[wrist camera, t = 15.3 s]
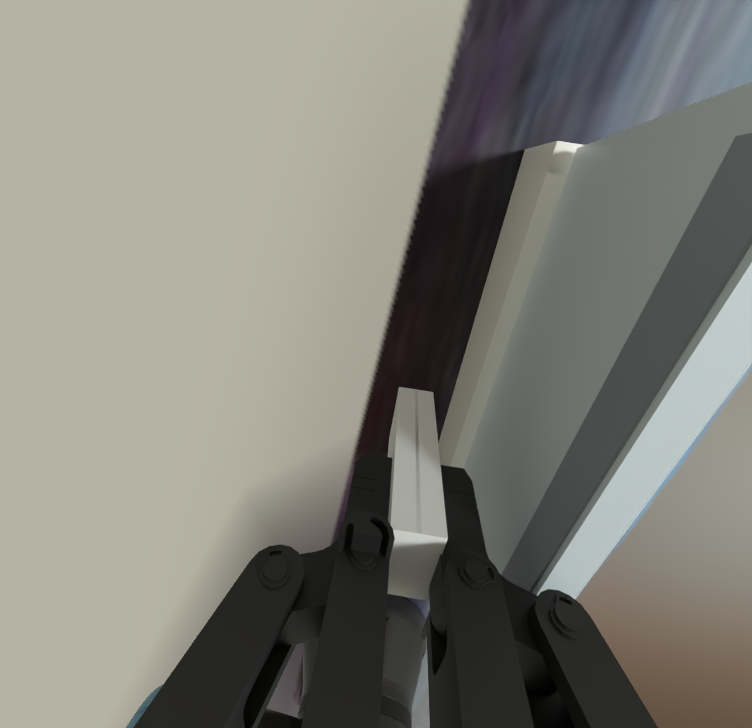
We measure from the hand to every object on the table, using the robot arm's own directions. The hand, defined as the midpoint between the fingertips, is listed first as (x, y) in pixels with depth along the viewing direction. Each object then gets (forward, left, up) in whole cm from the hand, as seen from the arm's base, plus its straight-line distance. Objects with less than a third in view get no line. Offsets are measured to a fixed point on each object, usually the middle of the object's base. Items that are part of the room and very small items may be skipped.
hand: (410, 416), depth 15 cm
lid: (+3, -4, 0) cm, 5 cm away
